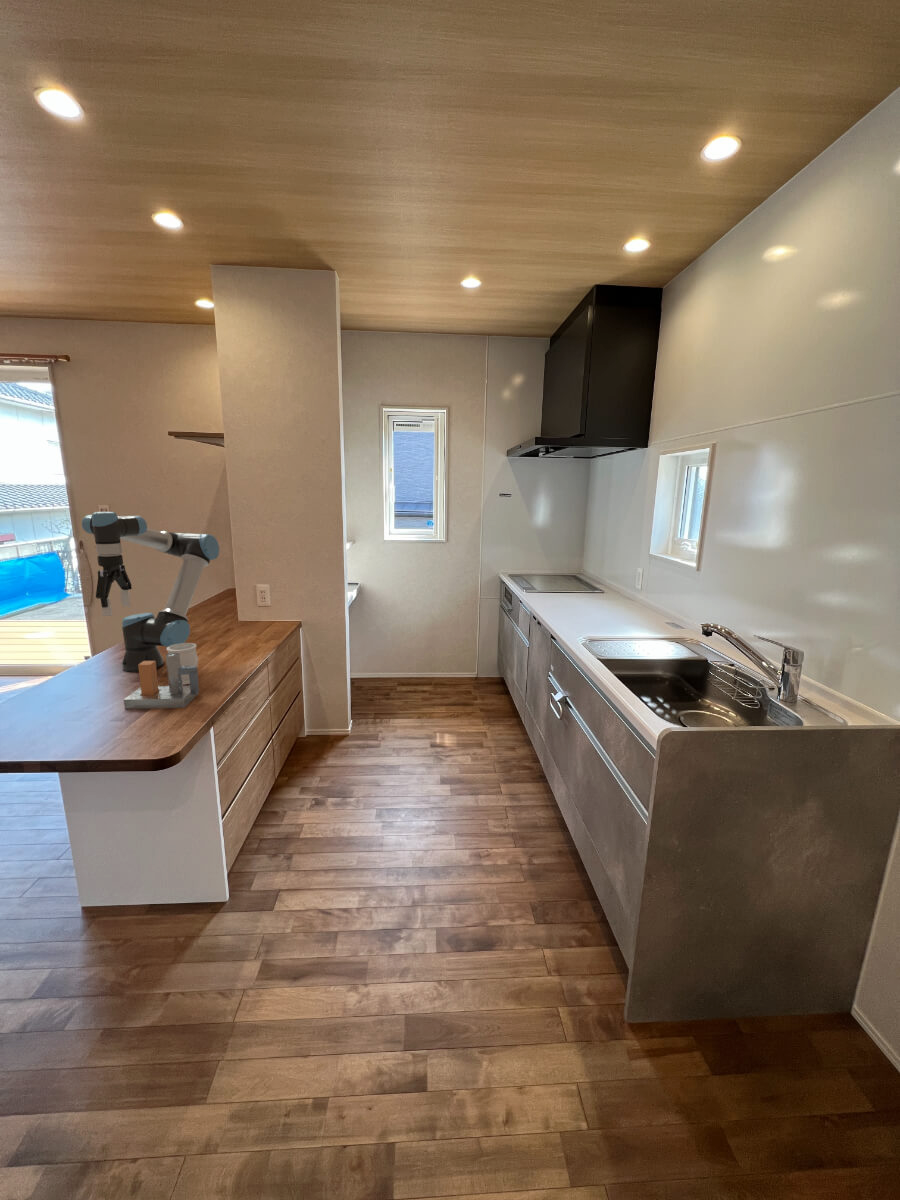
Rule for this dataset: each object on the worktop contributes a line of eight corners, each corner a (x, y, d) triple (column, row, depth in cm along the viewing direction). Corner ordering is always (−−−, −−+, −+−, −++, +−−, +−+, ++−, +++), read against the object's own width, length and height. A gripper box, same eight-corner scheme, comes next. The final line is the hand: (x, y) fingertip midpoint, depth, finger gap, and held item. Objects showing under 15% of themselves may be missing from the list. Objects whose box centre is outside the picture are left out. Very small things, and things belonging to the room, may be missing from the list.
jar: (194, 674, 201) (191, 641, 198) (203, 682, 194) (200, 647, 190) (166, 681, 193) (163, 645, 190) (174, 688, 186) (170, 652, 183)
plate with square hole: (142, 694, 180) (137, 649, 176) (204, 694, 182) (201, 649, 179) (124, 708, 168) (118, 660, 164) (191, 707, 171) (187, 660, 167)
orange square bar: (148, 699, 176) (143, 660, 173) (159, 699, 177) (155, 660, 174) (142, 703, 173) (138, 664, 169) (154, 703, 173) (150, 664, 170)
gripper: (116, 550, 185) (123, 603, 190) (77, 559, 161) (86, 619, 166) (137, 550, 186) (143, 602, 191) (102, 560, 162) (110, 619, 167)
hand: (117, 610), depth 179 cm, fingers open, 13 cm apart
